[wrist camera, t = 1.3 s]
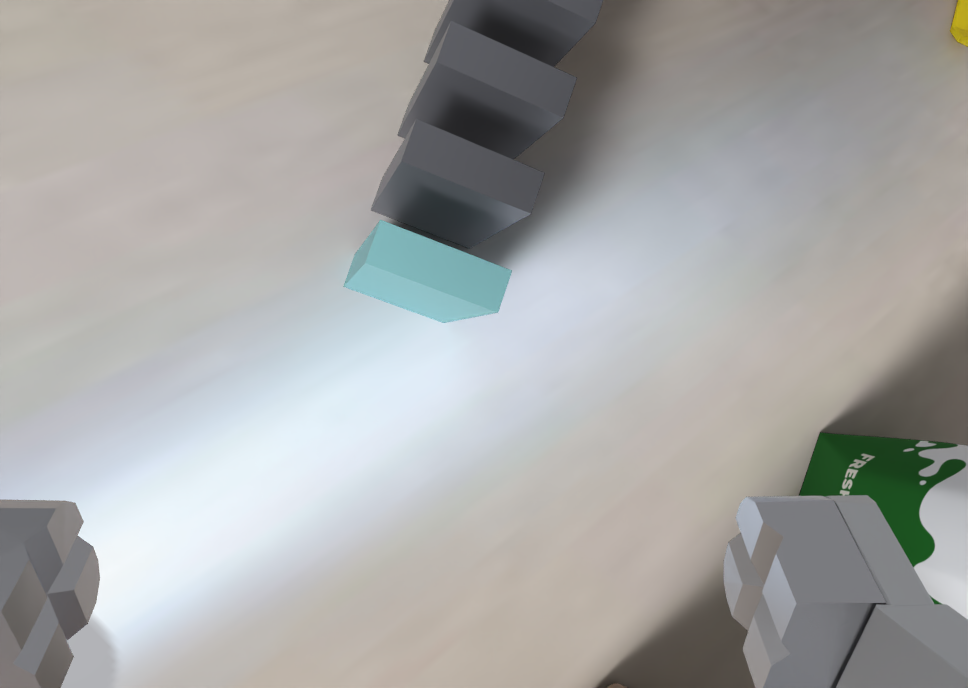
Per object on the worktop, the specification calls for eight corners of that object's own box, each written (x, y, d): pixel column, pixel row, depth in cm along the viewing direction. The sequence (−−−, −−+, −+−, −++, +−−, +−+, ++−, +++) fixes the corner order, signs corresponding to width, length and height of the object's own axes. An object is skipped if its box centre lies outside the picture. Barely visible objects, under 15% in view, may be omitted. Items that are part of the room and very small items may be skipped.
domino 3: (469, 248, 39) (531, 213, 30) (370, 210, 38) (401, 161, 28) (480, 217, 39) (544, 172, 30) (381, 178, 38) (416, 118, 29)
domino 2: (494, 175, 40) (563, 117, 30) (397, 135, 39) (436, 61, 29) (504, 144, 40) (577, 77, 30) (408, 103, 39) (450, 20, 29)
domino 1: (519, 103, 40) (595, 23, 30) (423, 61, 39) (471, -36, 29) (529, 73, 40) (608, -17, 30) (434, 30, 39) (485, -77, 29)
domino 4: (443, 322, 39) (497, 312, 29) (343, 286, 38) (365, 263, 28) (454, 291, 39) (512, 270, 29) (354, 254, 38) (380, 219, 28)
